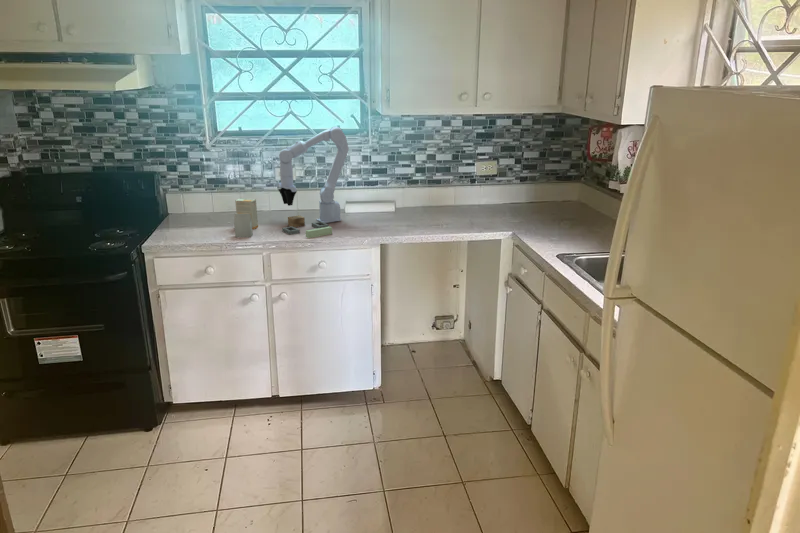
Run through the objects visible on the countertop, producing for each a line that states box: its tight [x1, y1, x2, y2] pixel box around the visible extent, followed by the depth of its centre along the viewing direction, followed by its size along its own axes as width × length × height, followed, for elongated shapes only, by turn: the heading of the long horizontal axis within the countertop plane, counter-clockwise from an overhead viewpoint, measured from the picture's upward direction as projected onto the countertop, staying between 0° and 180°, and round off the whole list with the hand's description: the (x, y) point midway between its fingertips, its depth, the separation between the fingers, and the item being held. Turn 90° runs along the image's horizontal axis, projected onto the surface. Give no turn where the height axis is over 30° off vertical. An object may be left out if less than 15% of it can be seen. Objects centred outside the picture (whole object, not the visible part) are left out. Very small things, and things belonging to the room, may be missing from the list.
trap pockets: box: [281, 221, 333, 239], centre depth 269 cm, size 20×16×3 cm
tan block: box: [287, 215, 306, 228], centre depth 279 cm, size 6×5×4 cm
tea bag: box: [233, 213, 253, 238], centre depth 260 cm, size 4×7×10 cm, turn 93°
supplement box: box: [234, 197, 259, 230], centre depth 273 cm, size 8×5×13 cm, turn 74°
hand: (288, 204), depth 283 cm, fingers open, 3 cm apart
